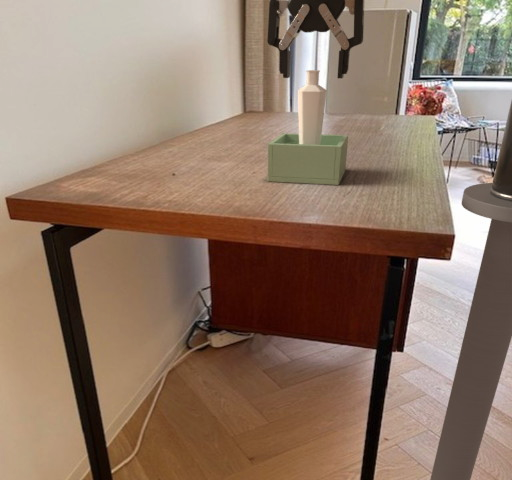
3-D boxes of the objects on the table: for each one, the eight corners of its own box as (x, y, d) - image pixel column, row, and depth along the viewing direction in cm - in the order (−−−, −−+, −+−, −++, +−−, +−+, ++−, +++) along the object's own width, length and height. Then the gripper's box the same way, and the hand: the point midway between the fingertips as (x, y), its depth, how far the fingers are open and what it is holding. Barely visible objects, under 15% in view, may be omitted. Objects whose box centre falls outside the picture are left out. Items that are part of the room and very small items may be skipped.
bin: (345, 170, 89) (348, 135, 86) (338, 185, 79) (341, 146, 76) (281, 167, 92) (282, 133, 89) (267, 181, 82) (267, 143, 79)
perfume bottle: (322, 168, 86) (328, 69, 79) (321, 174, 83) (327, 71, 75) (295, 167, 87) (299, 70, 79) (293, 173, 83) (297, 71, 76)
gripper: (263, -54, 69) (263, 79, 77) (368, -60, 65) (357, 79, 74) (275, -46, 75) (274, 76, 83) (372, -51, 72) (361, 76, 80)
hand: (313, 78), depth 78 cm, fingers open, 8 cm apart
